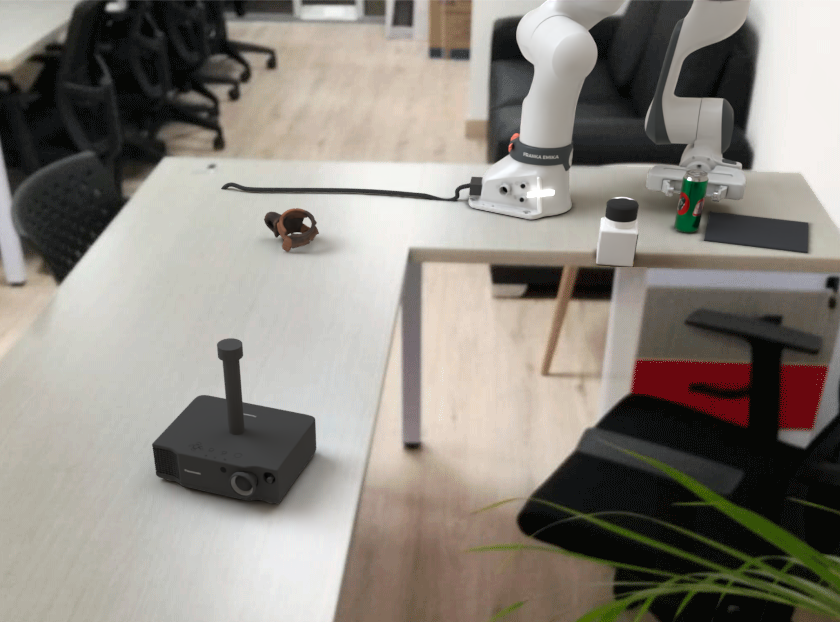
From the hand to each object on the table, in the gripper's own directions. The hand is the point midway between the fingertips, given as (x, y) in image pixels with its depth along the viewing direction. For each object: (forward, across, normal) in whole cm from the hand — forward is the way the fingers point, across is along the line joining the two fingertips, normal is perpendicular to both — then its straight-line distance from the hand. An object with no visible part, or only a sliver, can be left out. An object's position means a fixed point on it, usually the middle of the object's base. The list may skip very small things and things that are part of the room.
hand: (692, 195), depth 223 cm
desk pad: (-1, +14, +6) cm, 16 cm away
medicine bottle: (+22, -12, +7) cm, 26 cm away
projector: (+114, -53, +7) cm, 126 cm away
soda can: (+2, 0, +7) cm, 7 cm away
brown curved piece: (+35, -76, +7) cm, 84 cm away
